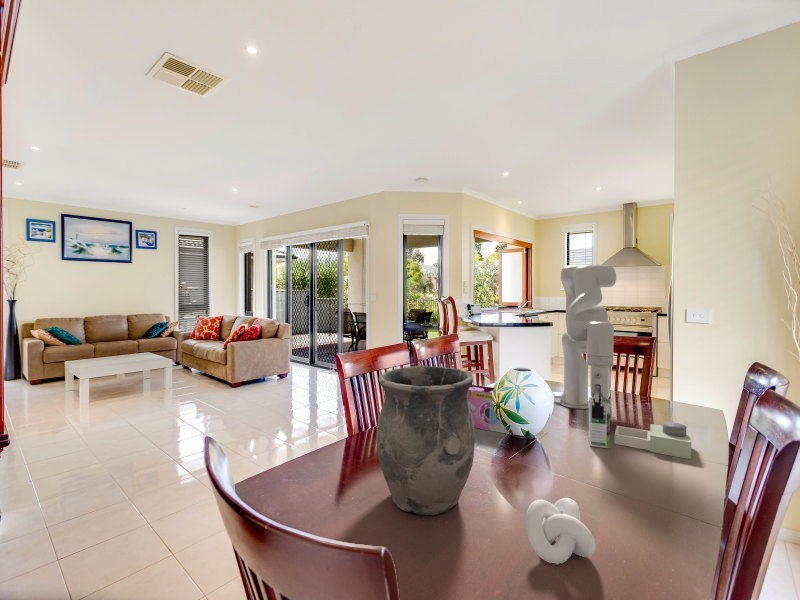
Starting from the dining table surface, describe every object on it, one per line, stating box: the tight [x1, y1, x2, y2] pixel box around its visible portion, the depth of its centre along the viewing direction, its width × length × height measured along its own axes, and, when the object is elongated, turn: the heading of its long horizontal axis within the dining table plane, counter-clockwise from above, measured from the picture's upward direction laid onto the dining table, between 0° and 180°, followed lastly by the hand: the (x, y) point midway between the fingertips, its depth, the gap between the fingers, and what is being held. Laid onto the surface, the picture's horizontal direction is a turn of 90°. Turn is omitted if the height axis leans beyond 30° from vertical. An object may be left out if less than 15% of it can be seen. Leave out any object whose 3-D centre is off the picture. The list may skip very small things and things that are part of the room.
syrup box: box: [588, 396, 611, 449], centre depth 124 cm, size 6×6×14 cm
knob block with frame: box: [614, 421, 692, 460], centre depth 124 cm, size 20×12×8 cm, turn 57°
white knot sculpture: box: [525, 497, 597, 565], centre depth 74 cm, size 11×12×9 cm
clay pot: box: [375, 365, 476, 516], centre depth 92 cm, size 22×23×30 cm
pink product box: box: [467, 384, 510, 435], centre depth 139 cm, size 24×8×14 cm, turn 58°
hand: (599, 414), depth 124 cm, fingers open, 9 cm apart
